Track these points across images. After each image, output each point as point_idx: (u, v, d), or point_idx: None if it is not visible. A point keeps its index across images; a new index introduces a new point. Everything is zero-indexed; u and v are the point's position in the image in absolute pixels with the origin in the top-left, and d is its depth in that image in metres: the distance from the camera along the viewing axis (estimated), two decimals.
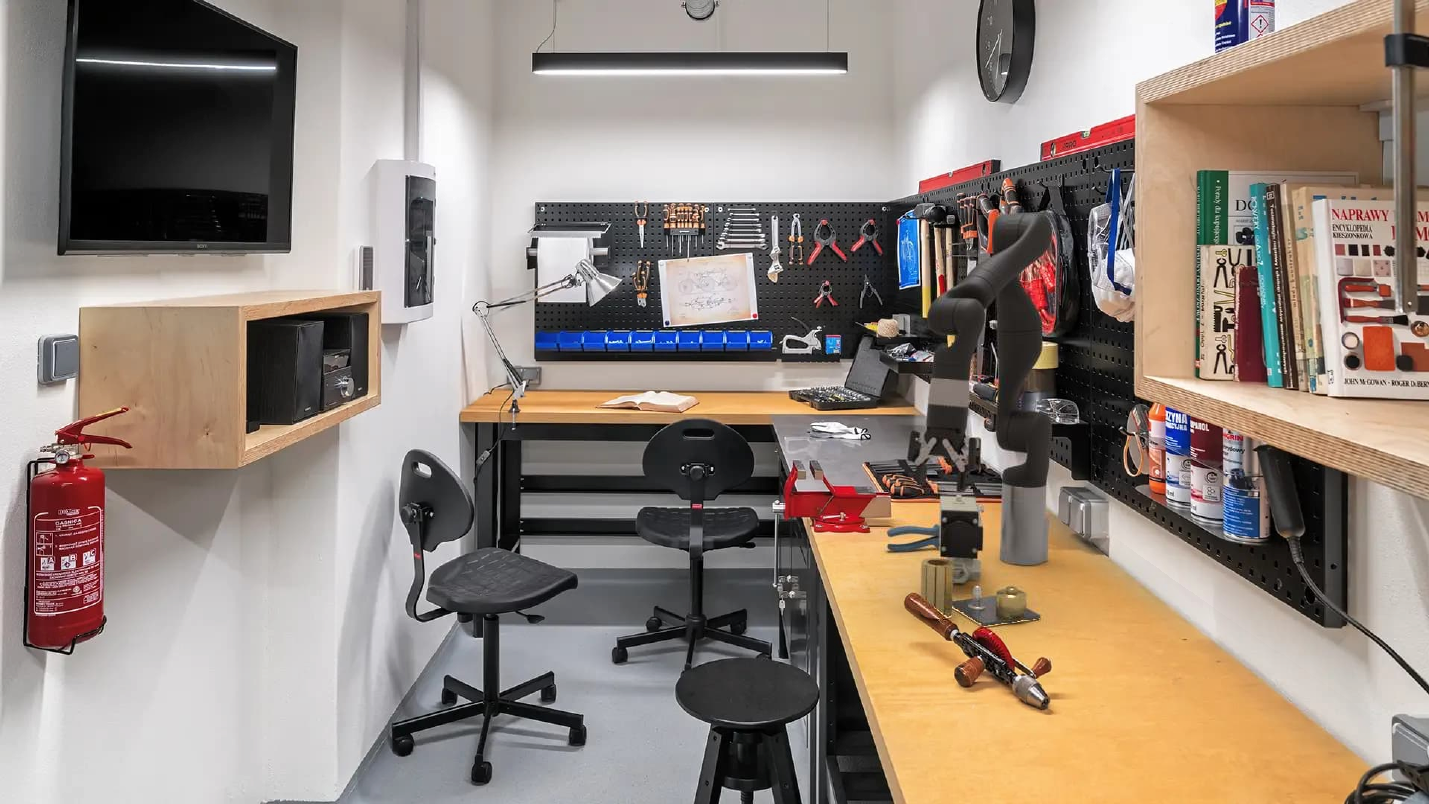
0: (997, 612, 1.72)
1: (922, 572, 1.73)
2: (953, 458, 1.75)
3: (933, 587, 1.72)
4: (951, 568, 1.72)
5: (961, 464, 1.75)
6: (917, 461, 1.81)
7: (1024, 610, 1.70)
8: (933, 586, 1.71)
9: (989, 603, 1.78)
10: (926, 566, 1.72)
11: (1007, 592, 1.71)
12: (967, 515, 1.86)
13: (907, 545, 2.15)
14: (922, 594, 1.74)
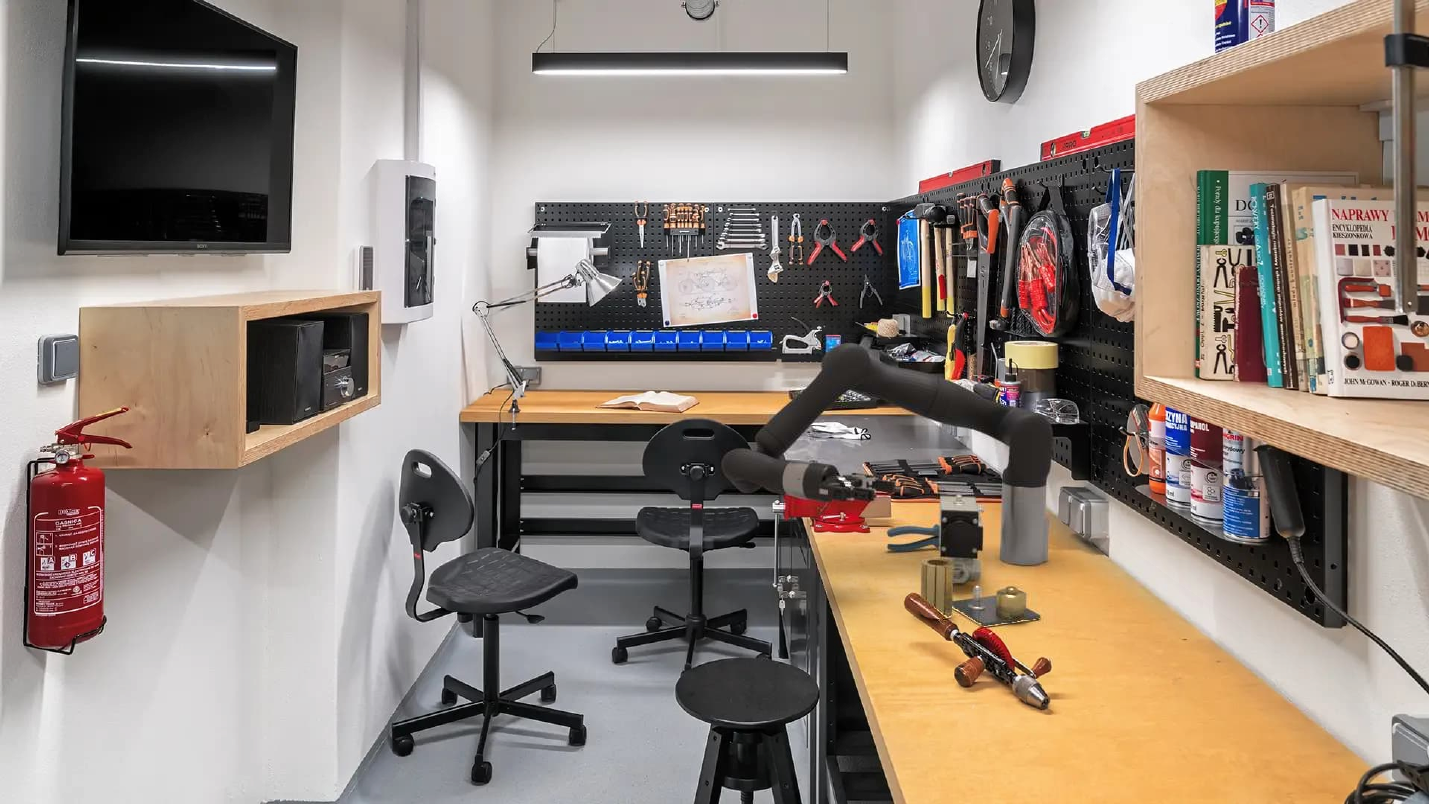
0: (997, 612, 1.72)
1: (922, 572, 1.73)
2: None
3: (933, 587, 1.72)
4: (951, 568, 1.72)
5: None
6: None
7: (1024, 610, 1.70)
8: (933, 586, 1.71)
9: (989, 603, 1.78)
10: (926, 566, 1.72)
11: (1007, 592, 1.71)
12: (967, 515, 1.86)
13: (907, 545, 2.15)
14: (922, 594, 1.74)
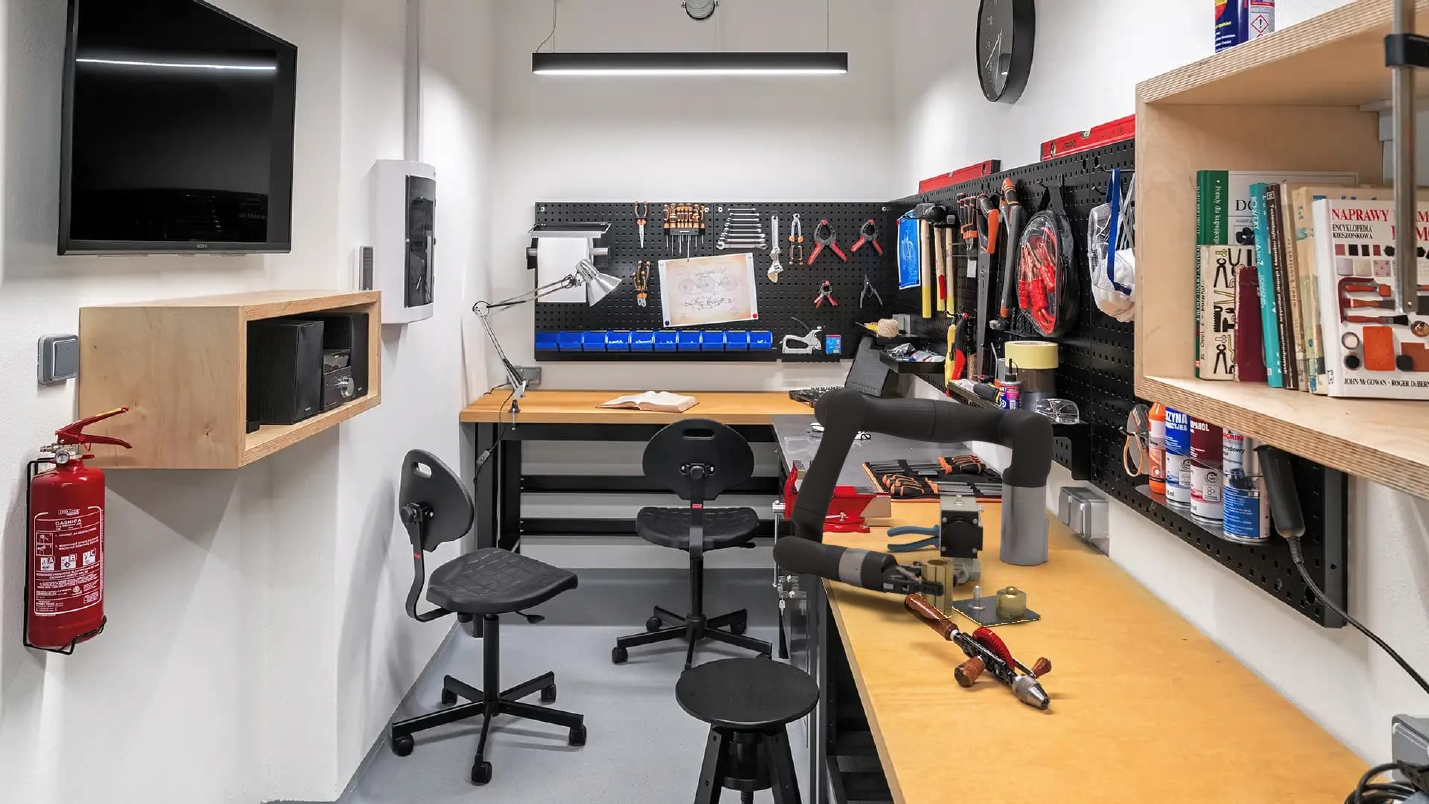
0: (997, 612, 1.72)
1: (922, 572, 1.73)
2: None
3: None
4: (951, 568, 1.72)
5: None
6: None
7: (1024, 610, 1.70)
8: None
9: (989, 603, 1.78)
10: (926, 566, 1.72)
11: (1007, 592, 1.71)
12: (967, 515, 1.86)
13: (907, 545, 2.15)
14: (922, 594, 1.74)
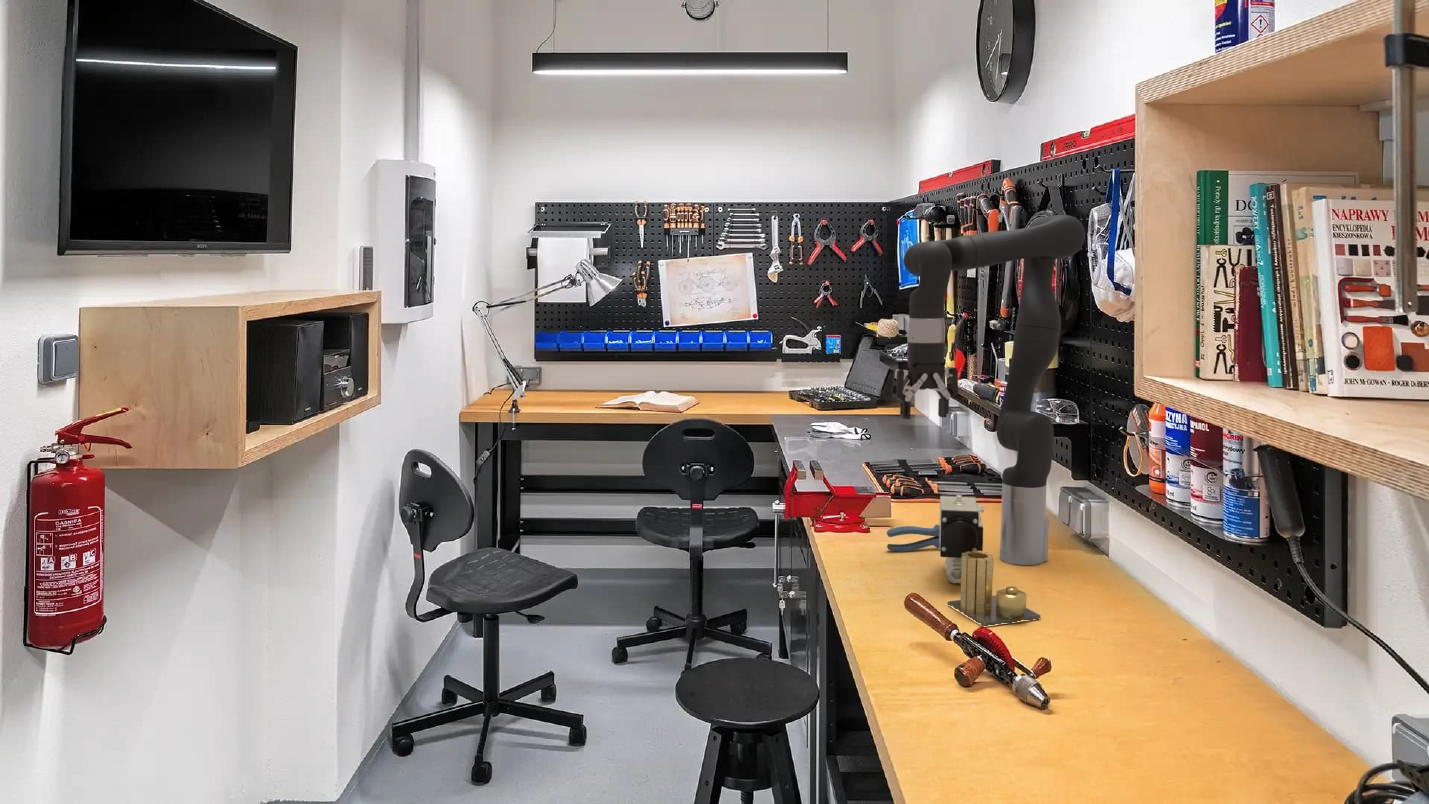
0: (997, 612, 1.72)
1: (962, 565, 1.75)
2: None
3: (974, 580, 1.73)
4: (991, 561, 1.73)
5: None
6: None
7: (1024, 610, 1.70)
8: (974, 579, 1.73)
9: None
10: (967, 559, 1.73)
11: (1007, 592, 1.71)
12: (967, 515, 1.86)
13: (907, 545, 2.15)
14: (962, 587, 1.75)
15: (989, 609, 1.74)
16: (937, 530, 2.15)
